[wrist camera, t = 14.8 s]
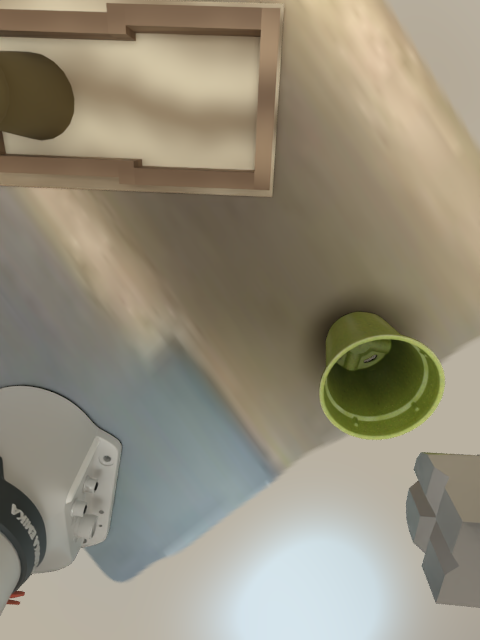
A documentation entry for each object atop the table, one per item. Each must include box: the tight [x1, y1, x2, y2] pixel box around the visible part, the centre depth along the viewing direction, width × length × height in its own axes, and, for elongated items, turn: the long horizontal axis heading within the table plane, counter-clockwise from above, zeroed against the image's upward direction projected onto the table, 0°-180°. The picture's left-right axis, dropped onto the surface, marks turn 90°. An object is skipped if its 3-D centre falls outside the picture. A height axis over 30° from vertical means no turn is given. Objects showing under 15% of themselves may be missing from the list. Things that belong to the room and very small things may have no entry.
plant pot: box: [319, 312, 445, 440], centre depth 37 cm, size 9×9×9 cm
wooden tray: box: [0, 0, 284, 197], centre depth 33 cm, size 13×26×4 cm, turn 88°
